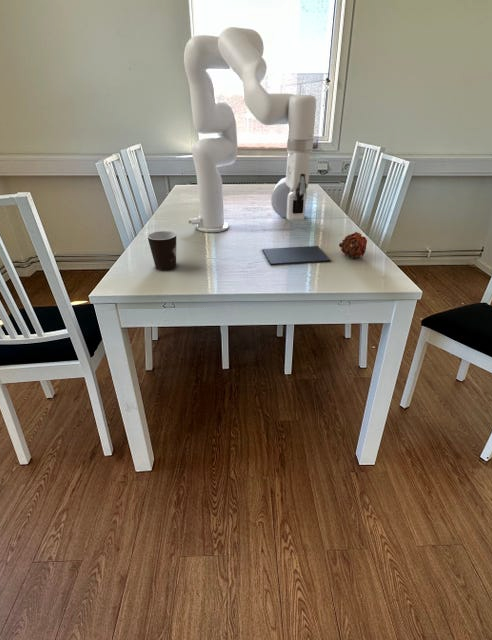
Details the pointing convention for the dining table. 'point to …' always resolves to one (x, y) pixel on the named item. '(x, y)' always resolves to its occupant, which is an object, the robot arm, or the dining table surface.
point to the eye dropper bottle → (290, 214)
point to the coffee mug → (163, 249)
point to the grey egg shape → (281, 198)
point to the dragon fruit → (354, 245)
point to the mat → (295, 255)
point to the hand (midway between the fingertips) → (295, 210)
